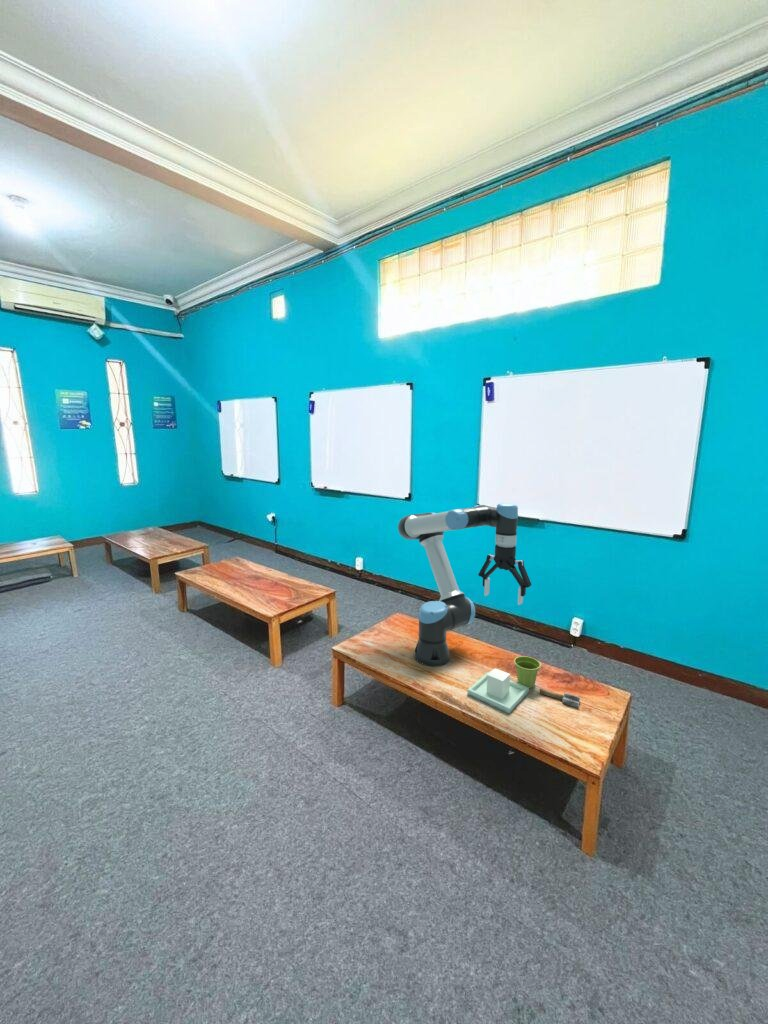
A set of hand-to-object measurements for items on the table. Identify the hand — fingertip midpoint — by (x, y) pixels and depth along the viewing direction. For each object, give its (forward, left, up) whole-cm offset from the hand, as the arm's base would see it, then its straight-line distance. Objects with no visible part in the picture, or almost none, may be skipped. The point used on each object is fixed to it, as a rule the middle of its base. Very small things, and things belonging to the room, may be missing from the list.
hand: (502, 599), depth 152 cm
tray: (+5, -11, -32) cm, 34 cm away
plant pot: (+10, +2, -32) cm, 33 cm away
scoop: (+23, +1, -32) cm, 39 cm away
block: (+5, -11, -31) cm, 33 cm away
